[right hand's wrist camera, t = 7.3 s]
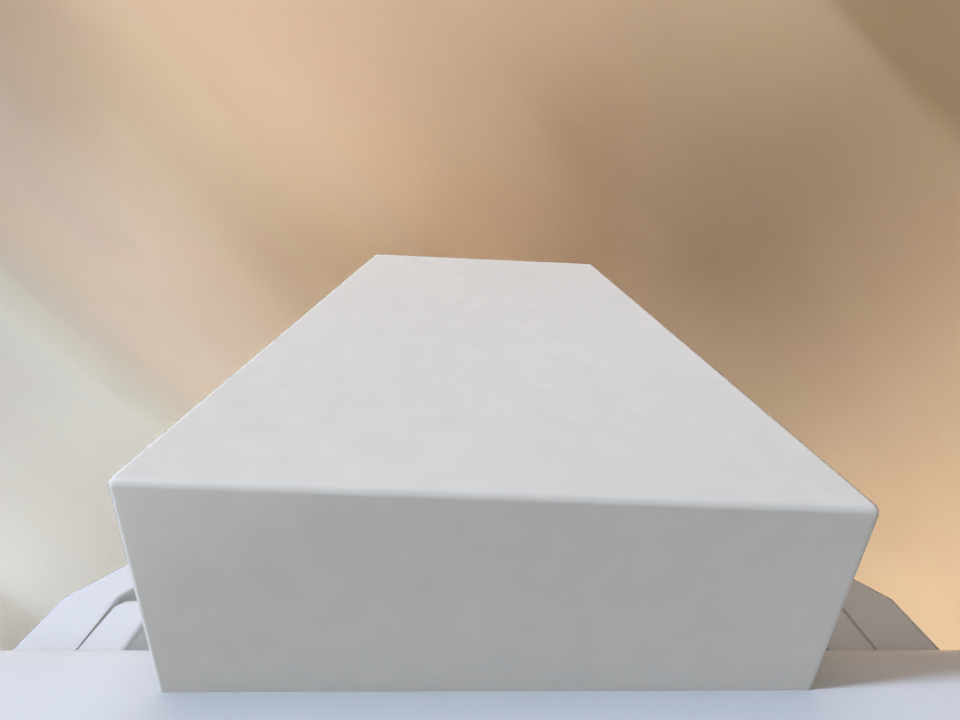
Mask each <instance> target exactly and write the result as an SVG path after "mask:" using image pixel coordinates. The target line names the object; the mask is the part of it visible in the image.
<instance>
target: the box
mask: <svg viewBox="0 0 960 720" xmlns="http://www.w3.org/2000/svg"><path fill="white" fill-rule="evenodd" d="M109 490H110V494H111V498H112V502H113V507H114V511H115V515H116V519H117V523H118V527H119V531H120V535H121V539H122V543H123V547H124V551H125V555H126V559H127V563H128V567H129V571H130V575H131V579H132V583H133V587H134V591H135V595H136V599H137V603H138V607H139V611H140V615H141V619H142V623H143V627H144V631H145V635H146V639H147V643H148V647H149V651H150V655H151V659H152V663H153V667H154V671H155V675H156V679H157V683H158V687H159V691H161V692H443V691H740V690H809V689H811V687H812V684H813V682H814V679H815V677H816V674H817V671H818V669H819V666H820V664H821V661H822V659H823V656H824V654H825V651H826V648H827V646H828V643H829V641H830V638H831V636H832V633H833V630H834V628H835V625H836V623H837V620H838V618H839V615H840V613H841V610H842V607H843V605H844V602H845V600H846V597H847V595H848V592H849V590H850V587H851V584H852V582H853V579H854V577H855V574H856V572H857V569H858V566H859V564H860V561H861V559H862V556H863V554H864V551H865V549H866V546H867V543H868V541H869V538H870V536H871V533H872V531H873V528H874V525H875V523H876V520H877V518H878V515H879V510H878V508H877V506H876V505H875V504H874V503H873V502H872V501H871V500H869V499H868V498H867V497H866V496H865V495H863V494H862V493H861V492H860V491H859V490H857V489H856V488H855V487H854V486H853V485H852V484H850V483H849V482H848V481H847V480H846V479H844V478H843V477H842V476H841V475H840V474H839V473H837V472H836V471H835V470H834V469H833V468H831V467H830V466H829V465H828V464H827V463H826V462H824V461H823V460H822V459H821V458H820V457H818V456H817V455H816V454H815V453H814V452H812V451H811V450H810V449H809V448H808V447H807V446H805V445H804V444H803V443H802V442H801V441H799V440H798V439H797V438H796V437H795V436H794V435H792V434H791V433H790V432H789V431H788V430H786V429H785V428H784V427H783V426H782V425H780V424H779V423H778V422H777V421H776V420H775V419H773V418H772V417H771V416H770V415H769V414H767V413H766V412H765V411H764V410H763V409H762V408H760V407H759V406H758V405H757V404H756V403H754V402H753V401H752V400H751V399H750V398H749V397H747V396H746V395H745V394H744V393H743V392H741V391H740V390H739V389H738V388H737V387H735V386H734V385H733V384H732V383H731V382H730V381H728V380H727V379H726V378H725V377H724V376H722V375H721V374H720V373H719V372H718V371H717V370H715V369H714V368H713V367H712V366H711V365H709V364H708V363H707V362H706V361H705V360H703V359H702V358H701V357H700V356H699V355H698V354H696V353H695V352H694V351H693V350H692V349H690V348H689V347H688V346H687V345H686V344H685V343H683V342H682V341H681V340H680V339H679V338H677V337H676V336H675V335H674V334H673V333H672V332H670V331H669V330H668V329H667V328H666V327H664V326H663V325H662V324H661V323H660V322H658V321H657V320H656V319H655V318H654V317H653V316H651V315H650V314H649V313H648V312H647V311H645V310H644V309H643V308H642V307H641V306H640V305H638V304H637V303H636V302H635V301H634V300H632V299H631V298H630V297H629V296H628V295H627V294H625V293H624V292H623V291H622V290H621V289H619V288H618V287H617V286H616V285H615V284H613V283H612V282H611V281H610V280H609V279H608V278H606V277H605V276H604V275H603V274H602V273H600V272H599V271H598V270H597V269H596V268H595V267H593V266H592V265H590V264H574V263H552V262H531V261H509V260H487V259H466V258H444V257H422V256H401V255H379V254H377V255H375V256H374V257H373V258H371V259H370V260H369V261H368V262H367V263H365V264H364V265H363V266H362V267H361V268H359V269H358V270H357V271H356V272H355V273H354V274H352V275H351V276H350V277H349V278H348V279H346V280H345V281H344V282H343V283H342V284H340V285H339V286H338V287H337V288H336V289H335V290H333V291H332V292H331V293H330V294H329V295H327V296H326V297H325V298H324V299H323V300H321V301H320V302H319V303H318V304H317V305H315V306H314V307H313V308H312V309H311V310H310V311H308V312H307V313H306V314H305V315H304V316H302V317H301V318H300V319H299V320H298V321H296V322H295V323H294V324H293V325H292V326H291V327H289V328H288V329H287V330H286V331H285V332H283V333H282V334H281V335H280V336H279V337H277V338H276V339H275V340H274V341H273V342H271V343H270V344H269V345H268V346H267V347H266V348H264V349H263V350H262V351H261V352H260V353H258V354H257V355H256V356H255V357H254V358H252V359H251V360H250V361H249V362H248V363H247V364H245V365H244V366H243V367H242V368H241V369H239V370H238V371H237V372H236V373H235V374H233V375H232V376H231V377H230V378H229V379H227V380H226V381H225V382H224V383H223V384H222V385H220V386H219V387H218V388H217V389H216V390H214V391H213V392H212V393H211V394H210V395H208V396H207V397H206V398H205V399H204V400H203V401H201V402H200V403H199V404H198V405H197V406H195V407H194V408H193V409H192V410H191V411H189V412H188V413H187V414H186V415H185V416H184V417H182V418H181V419H180V420H179V421H178V422H176V423H175V424H174V425H173V426H172V427H170V428H169V429H168V430H167V431H166V432H164V433H163V434H162V435H161V436H160V437H159V438H157V439H156V440H155V441H154V442H153V443H151V444H150V445H149V446H148V447H147V448H145V449H144V450H143V451H142V452H141V453H140V454H138V455H137V456H136V457H135V458H134V459H132V460H131V461H130V462H129V463H128V464H126V465H125V466H124V467H123V468H122V469H120V470H119V471H118V472H117V473H116V474H115V475H113V476H112V477H111V479H110V481H109Z"/></svg>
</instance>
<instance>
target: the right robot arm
mask: <svg viewBox="0 0 960 720" xmlns="http://www.w3.org/2000/svg"><path fill="white" fill-rule="evenodd" d="M0 720H960V650H939V648H938V647H937V646H936V645H935V644H934V643H933V642H932V641H931V640H930V639H929V638H928V637H927V636H926V635H925V634H924V633H923V632H922V631H921V630H920V629H919V628H918V626H917V625H916V624H915V623H914V622H913V621H912V620H911V619H910V618H909V617H908V616H907V615H906V614H905V613H904V612H903V611H902V610H901V609H900V608H899V607H898V606H897V604H896V603H895V602H894V601H893V600H892V599H890V598H888V597H886V596H885V595H883V594H881V593H879V592H877V591H875V590H873V589H871V588H870V587H868V586H866V585H864V584H862V583H860V582H858V581H856V580H855V579H853V582H852V584H851V587H850V590H849V592H848V595H847V597H846V600H845V602H844V605H843V607H842V610H841V613H840V615H839V618H838V620H837V623H836V625H835V628H834V630H833V633H832V636H831V638H830V641H829V643H828V646H827V648H826V651H825V654H824V656H823V659H822V661H821V664H820V666H819V669H818V671H817V674H816V677H815V679H814V682H813V684H812V687H811V689H809V690H740V691H443V692H161V691H159V687H158V683H157V679H156V675H155V671H154V667H153V663H152V659H151V655H150V651H149V647H148V643H147V639H146V635H145V631H144V627H143V623H142V619H141V615H140V611H139V607H138V603H137V599H136V595H135V591H134V587H133V583H132V579H131V575H130V571H129V567H128V564H127V565H125V566H123V567H122V568H120V569H118V570H116V571H114V572H112V573H110V574H108V575H106V576H105V577H103V578H101V579H99V580H97V581H95V582H93V583H91V584H89V585H88V586H86V587H84V588H82V589H80V590H78V591H76V592H74V593H72V594H70V595H69V596H67V597H65V598H63V599H62V600H61V601H60V602H59V603H58V604H57V605H56V606H55V607H54V608H53V609H52V610H51V611H50V612H49V613H48V614H47V615H46V616H45V617H44V618H43V620H42V621H41V622H40V623H39V624H38V625H37V626H36V627H35V628H34V629H33V630H32V631H31V632H30V633H29V634H28V635H27V636H26V637H25V638H24V639H23V640H22V641H21V642H20V643H19V644H18V645H17V646H16V647H15V648H14V649H13V650H0Z"/></svg>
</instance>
